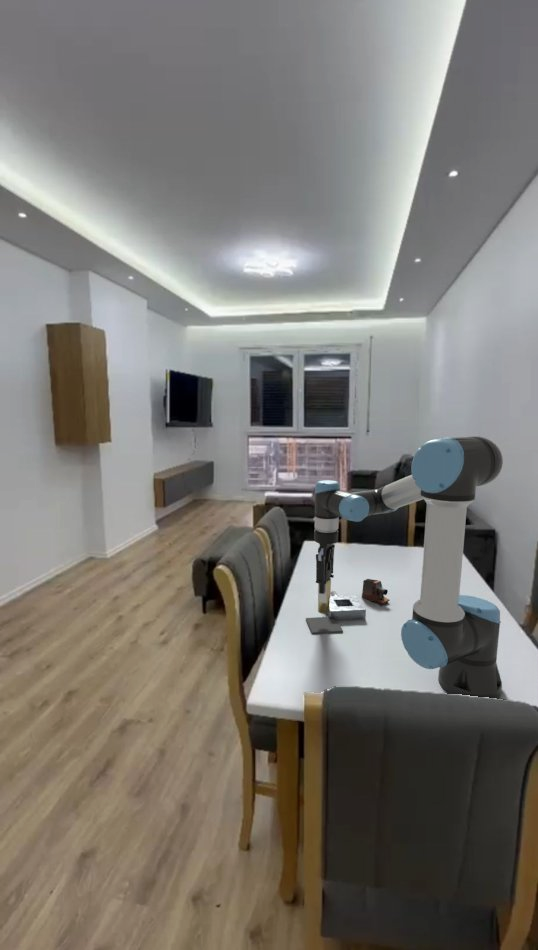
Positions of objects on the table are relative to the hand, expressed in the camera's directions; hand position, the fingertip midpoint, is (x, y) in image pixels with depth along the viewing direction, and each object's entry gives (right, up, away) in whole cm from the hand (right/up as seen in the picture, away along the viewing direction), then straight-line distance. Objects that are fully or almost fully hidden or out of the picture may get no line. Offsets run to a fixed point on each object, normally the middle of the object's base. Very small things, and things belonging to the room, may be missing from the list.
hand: (324, 599), depth 154 cm
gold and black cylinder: (0, -4, +1) cm, 4 cm away
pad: (0, -9, +1) cm, 9 cm away
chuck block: (+7, -7, +15) cm, 18 cm away
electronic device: (+21, -6, +21) cm, 31 cm away
